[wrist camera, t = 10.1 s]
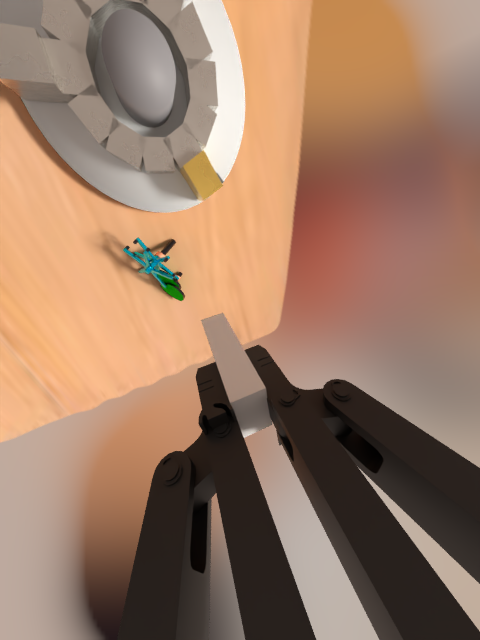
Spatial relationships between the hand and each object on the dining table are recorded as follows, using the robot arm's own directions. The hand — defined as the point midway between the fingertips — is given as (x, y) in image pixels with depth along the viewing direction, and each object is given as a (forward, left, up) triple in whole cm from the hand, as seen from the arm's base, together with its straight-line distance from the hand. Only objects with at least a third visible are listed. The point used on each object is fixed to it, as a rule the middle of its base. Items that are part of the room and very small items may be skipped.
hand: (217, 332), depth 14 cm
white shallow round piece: (-14, +12, -24) cm, 31 cm away
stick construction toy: (-1, -3, -25) cm, 25 cm away
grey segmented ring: (-12, +12, -23) cm, 28 cm away
